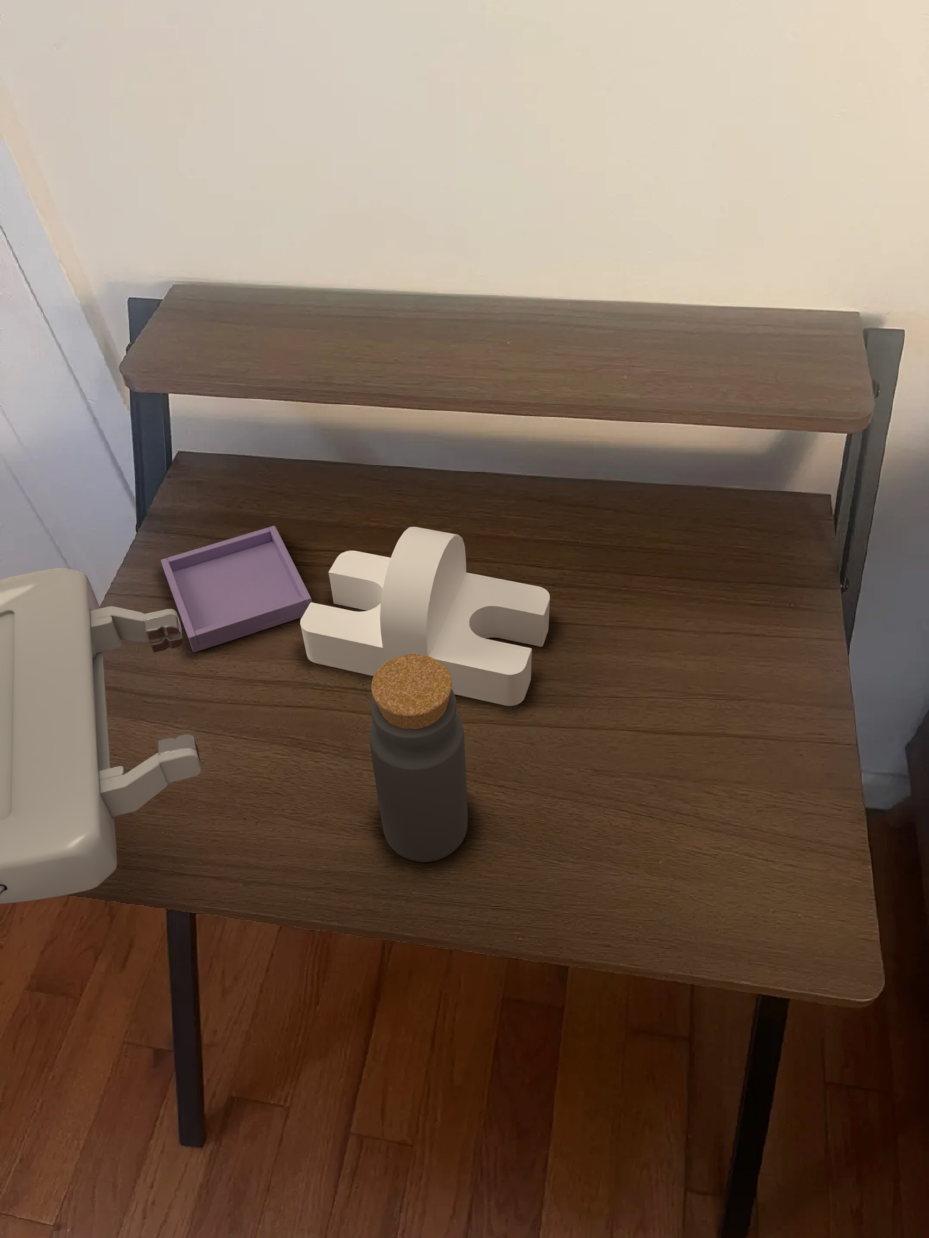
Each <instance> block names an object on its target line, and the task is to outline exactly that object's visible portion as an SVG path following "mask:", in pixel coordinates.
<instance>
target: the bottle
mask: <svg viewBox="0 0 929 1238" xmlns="http://www.w3.org/2000/svg"><path fill="white" fill-rule="evenodd" d="M370 685H371V686H370V689H371V695H372V698H371V702H370V715H371V718H372V719H371V720H372V721H371V724H370V728H369V738H368V739H369V748H370V757H371V761H372V769H373V775H374V781H375V782H374V783H375V789H376V794H377V802H378V807H379V813H380V820H381V825H382V831H383V834H384V838H385V841H386V842H387V844H388V846H389V847H390V848H391V849H392V850H393V852H395V853H396V854H397V855H399V856H401V857H402V858H404V859H406V860H409V861H414V862H418V863H419V862H420V863H430V862H435V861H439V860H441V859H444V858H446V857H448V856H449V855H451V854H452V853H454V852H455V851H456V850H457V849H458V848H459V847H460V846H461V844H463V841H464V840H465V837H466V836H467V831H468V824H469V823H468V821H469V816H468V814H469V813H468V789H467V788H468V786H467V785H468V784H467V767H466V746H465V732H464V725H463V722H462V719H461V717H460V714H459V713H458V712H457V710H458V706H457V698H456V694H454V692H453V690H452V678H451V675H450V673H449V671H448V669H447V668H446V667H445V666H444V665H443V664H442V663H441V662H439V661H438V660H436V659H434V658H432V657H429V656H425V655H419V654H408V655H402V656H399V657H396V658H393V659H391V660H389V661H388V662H386V663H385V664H383V665H382V666H381V667H380V668H379V669H378V670H377V672H376V673H375V675H374V676H372V679H371V684H370Z"/></svg>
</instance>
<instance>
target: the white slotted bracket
mask: <svg viewBox="0 0 929 1238" xmlns="http://www.w3.org/2000/svg"><path fill="white" fill-rule="evenodd" d="M466 556H467V555H466V545H465V542H464V539H463V537H462V536H461V535H460V534H457V533H451V532H445V531H441V530H436V529H435V530H434V529H430V528H423V527H419V526H409V527H407V528H406V529H405V530H404V531H403V533H402V534H401V536H400V537H399V539H398V540H397V542H396V544H395V547H394V548H393V551H392V553H391V556H390V557H389V556H384V555H379V554H373V553H368V552H363V551H359V550H358V551H357V550H346V551H344V552H341V553H340V554H339V555H338V556H336V558H335V560H334V562H333V563H332V565H331V567H330V569H329V570H328V578H329V584H330V589H331V596H332V601H333V604H334V605H337V606H343V607H348V608H353V609H358V610H361V611H356V610H355V611H354V610H350V609H346V608H345V609H344V608H340V607H336V606H331V605H326V604H321V603H317V602H316V603H315V602H313V601H312V602H311V603H310V604H309V606H308V608H307V610H306V611H305V613H304V615H303V616H302V617H301V618H300V621H299V624H300V629H301V634H302V638H303V644H304V648H305V653H306V658H307V659H308V660H309V661H310V662H312V663H314V664H318V665H323V666H326V667H331V668H335V669H340V670H345V671H348V672H354V673H358V674H362V675H366V676H371V677H374V675H375V673H376V672H377V670H378V669H379V668H380V667H381V666H382V665H383V664H385V663H386V662H388V661H389V660H391V659H393V658H396V657H399V656H402V655H408V654H419V655H425V656H429V657H432V658H434V659H436V660H438V661H439V662H441V663H442V664H443V665H444V666H445V667H446V668H447V669H448V671H449V673H450V675H451V678H452V690H453V692H454V694H455V696H456V695H457V696H461V697H464V698H465V697H466V698H470V699H475V700H479V701H483V702H488V703H492V704H496V705H502V706H505V707H514V706H517V705H520V704H521V703H522V702H523V701H524V700H525V697H526V695H527V692H528V690H529V687H530V684H531V681H532V659H533V658H532V656H533V655H532V654H533V648H531V647H527V646H522V645H517V644H512V643H508V642H504V641H498V640H493V639H490V638H496V639H497V638H498V639H502V640H507V641H512V642H516V643H521V644H526V645H532V646H536V647H541V648H542V647H543V646H544V644H545V641H546V639H547V635H548V632H549V625H550V603H551V602H550V601H551V596H550V593H549V591H548V590H547V589H545V588H544V587H542V586H538V585H533V584H528V583H522V582H518V581H513V580H508V579H503V578H497V577H492V576H488V575H487V576H486V575H482V574H477V573H471V572H467V557H466ZM362 610H363V611H362Z"/></svg>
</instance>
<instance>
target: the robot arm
mask: <svg viewBox="0 0 929 1238" xmlns="http://www.w3.org/2000/svg"><path fill="white" fill-rule="evenodd" d="M177 612H178V611H176V610H175V609H173V608H165V609H161V610H157V611H151V612H147V613H144V612H141V611H137V610H132V609H128V608H124V607H118V606H114V605H110V606H105V607H100V604H99V601H98V599H97V596H96V594H95V591H94V588H93V586H92V585H91V582H90V580H89V578H88V576H87V574H86V573H83V572H81V571H79V570H74V569H71V568H68V567H55V568H48V569H43V570H37V571H31V572H27V573H22V574H17V575H13V576H9V577H3V578H0V905H5V904H15V903H25V902H30V901H32V902H33V901H37V900H43V899H44V900H45V899H50V898H56V897H62V896H68V895H72V894H73V895H74V894H77V893H82V892H85V891H89V890H94V889H95V888H98V887H99V886H100V885H101V884H102V883H103V882H104V881H106V880H107V879H108V878H109V877H110V876H111V875H112V874H113V873H114V872H115V871H116V870H117V867H118V854H117V853H118V852H117V841H116V824H115V817H118V816H122V815H125V814H130V813H134V812H137V811H138V810H139V809H141V808H142V807H143V806H145V805H146V804H147V803H148V802H149V801H151V800H152V799H153V798H154V797H155V796H157V795H158V794H159V793H160V792H162V791H163V790H164V789H166V788H167V787H168V786H169V784H171V783H175V782H178V781H182V780H186V779H191V778H195V777H197V776H198V775H200V774H201V772H202V765H201V759H200V752H199V746H198V744H197V741H196V738H195V736H194V735H192V734H190V733H183V734H179V735H177V736H176V737H175V738H174V737H166V738H163V739H158V740H157V751H158V752H156V753H155V754H153V755H152V756H150V757H149V758H147V759H146V760H144V761H143V762H141V763H140V764H138V765H137V766H135V767H134V768H132V769H130V770H129V771H128V772H126V770H125V768H124V766H123V765H117V766H114V767H112V765H111V763H112V762H111V747H110V735H109V734H110V733H109V721H108V720H109V718H108V717H109V716H108V704H107V703H108V702H107V690H106V689H107V687H106V673H105V659H104V658H105V657H104V653H105V652H108V651H113V650H117V649H121V648H122V647H123V642H122V641H128V642H135V643H136V642H137V643H143V644H144V643H146V644H149V645H150V647H151V650H152V653H154V654H155V653H157V652H162V651H166V650H167V649H168V648H171V649H175V648H179V647H180V646H181V645H183V642H184V640H183V639H184V638H183V629H182V625H181V621H180V618H179V614H178V613H177Z"/></svg>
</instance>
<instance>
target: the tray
mask: <svg viewBox="0 0 929 1238" xmlns="http://www.w3.org/2000/svg"><path fill="white" fill-rule="evenodd" d="M160 563H161V565H162V568H163V572H164V575H165V578H166V581H167V583H168V586H169V589H170V591H171V594H172V597H173V600H174V603H175V605H176V609H177V612H178V615H179V617H180V620H181V622H182V625H183V627H184V630H185V633H186V636H187V638H188V641H189V645H190V647H191V650H192V652H193V653H197V652H200V651H204V650H206V649H209V648H213V647H215V646H218V645H219V646H220V645H221V644H225V643H228V642H230V641H234V640H237V639H240V638H242V637H243V638H244V637H246V636H250V635H252V634H255V633H258V632H261V631H265V630H267V629H271V628H273V627H277V626H279V625H283V624H286V623H289V622H292V621H295V620H298V619H301V618H302V616H303V615H304V613H305V611H306V610H307V608H308V606H309V604H310V603H311V602H312V603H313V600H312V597H311V595H310V593H309V591H308V588H307V587H306V584H305V583H304V581H303V579H302V577H301V575H300V573H299V571H298V569H297V567H296V565H295V563H294V561H293V559H292V557H291V555H290V553H289V551H288V549H287V546H286V544H285V542H284V541H283V539H282V537H281V534H280V533H279V531H278V529H277V526H276V525H271V526H269V527H265V528H262V529H259V530H255V531H252V532H249V533H245V534H241V535H239V536H235V537H231V538H229V539H224V540H222V541H218V542H215V543H211V544H208V545H205V546H202V547H198V548H195V549H192V550H188V551H185V552H182V553H178V554H175V555H171V556H168V557H165V558H162V559H160Z"/></svg>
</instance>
